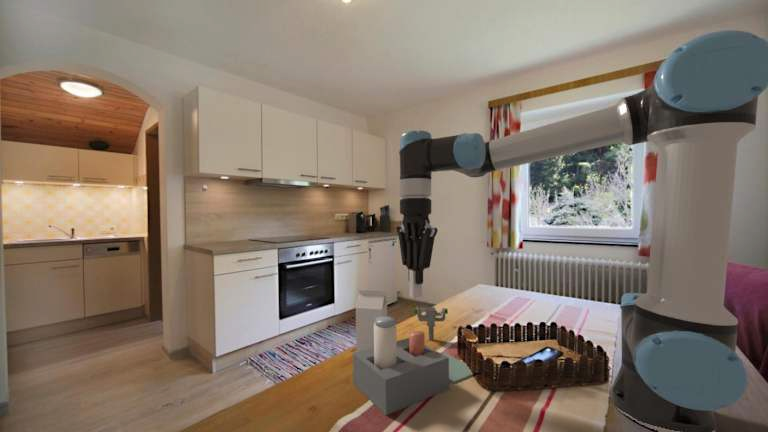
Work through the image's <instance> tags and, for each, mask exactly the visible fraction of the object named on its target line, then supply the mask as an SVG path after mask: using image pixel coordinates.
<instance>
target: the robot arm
mask: <svg viewBox="0 0 768 432" xmlns="http://www.w3.org/2000/svg"><path fill="white" fill-rule="evenodd" d="M767 88H768V41H767V40H766V39H765V38H763V37H760V36H758V35H757V34H753V33H752V32H748V31H743V30H735V29H734V30H733V29H732V30H730V29H729V30H727V29H726V30H725V29H724V30H717V31H713V32H712V31H711V32H708V33H703V34H701V35H700V36H697V37H695V38H692V39H690V40H688V41H686V42H684V43H683V44H681V45H680V46H679V47H677V48H676V49H675V50H674V51H672V52H671V53H669V56H667V57H666V59H664V60H663V62H662V63H660V65H659V67H658V68H657V70H656V73H655V75H654V79H653V81H652V82H651V84H650V85H649V87H646V88H645V89H644V90H641V91H639V92H637V93H634V94H632V95H627V96H625V97H621V98H620V99H619V100H618V101H617V103H615V104H614V105H612V106H608V107H605V108H601V109H598V110H594V111H591V112H587V113H584V114H580V115H577V116H573V117H570V118H567V119H562V120H559V121H555V122H552V123H548V124H545V125H541V126H538V127H534V128H530V129H528V130H524V131H520V132H517V133H514V134H509V135H506V136H503V137H500V138H496V139H492V140H489V141H485V140H484V138H483V135H481V134H480V133H478V132H474V133H473V132H472V133H466V132H465V133H461V134H456V135H450V136H443V137H437V138H432V134H431V133H430V132H428V131H427V130H421V129H420V130H409V131H406V132H404V133H402V134H401V135H400V139H399V140H400V141H399V151H398V153H399V197H401V199H400V200H399V214H400V215H403V217H402V222H401V223H402V224H401V225H399V226H396V227H395V228H396V230H395V231H396V232H397V235H398V240H399V247H400V255H401V261H402V262H401V263H402V265H403V266H406V268H407V270H408V274H407V275H408V283H409V289H408V292H409V293H408V295H409V296H408V297H409V298H411V299H417V298H422V297H423V284H424V270H426V269H429V268H430V267H431V261H432V255H433V249H434V244H435V243H434V242H435V237H436V235H437V233H438V228H437V227H433V226H432V225H431V224H430V223H431V221H430V219H429V218H430V217H429V215H431V214H432V199H431V198H430V197H431V196H432V173H434V172H448V171H454V172H456V173H461V174H463V175H465V176H467V177H470V178H481V177H484V176H486V175H487V174H488V173H492V172H497V171H499V170H504V169H509V168H513V167H514V168H515V167H518V166H522V165H527V164H531V163H535V162H536V163H537V162H539V161H545V160H548V159H552V158H558V157H562V156H567V155H571V154H575V153H579V152H584V151H587V150H589V151H590V150H592V149H597V148H602V147H606V146H611V145H614V144H619V143H620V144H621V143H623V144H625V145H627V146H632V145H637V144H642V143H648V142H650V143H651V144H653V145H655V146H656V148H657V150H658V151H657V162H656V173H655V175H656V176H655V187H654V189H655V190H654V200H653V212H652V213H653V214H652V227H651V239H650V250H649V251H650V252H649V266H648V275H647V276H648V277H647V278H648V279H647V289H646V293H643V292H627V293H624V294H623V295H622V296H621V301H620V305H619V308H620V310H621V312H620V313H621V314H620V315H621V316H620V317H621V318H620V319H621V322H620V323H621V325H620V326H621V365H620V368H619V370H618V372H617V375H616V377H615V379H614V382H613V384H612V387H611V402H613V403H612V404H614V405H615V406H616V407H617V408H619V409H620V410H622V411H623V412H625V413H627V414H629V415H630V416H632V417H633V418H635V419H637V420H638V421H641V422H643V423H647V424H650V425H653V426H657V427H661V428H665V429H669V430H674V431H680V432H681V431H682V432H712V431H714V430H715V429H716V430H717V420H716V415H715V413H714V411H717V410H720V409H724V408H727V407H731V406H733V405H735V404H737V403H738V402H740V400H742V398H743V397H744V395H746V392H747V390H748V386H749V376H748V372H747V369H746V366H745V365H744V362H743V360H742V359H741V357H739V355H738V354H737V353H736V352H737V340H738V339H737V337H738V325H739V320H738V318H737V317H736V316H735V315H733V313H731V312H730V310H728V309H727V308H726V307H725V306H724V303H725V294H726V292H725V291H726V281H727V271H728V270H727V269H728V259H729V258H728V257H729V245H730V235H731V233H730V232H731V222H732V211H733V201H734V191H735V190H734V189H735V188H734V187H735V178H736V177H735V176H736V167H737V156H738V155H737V154H738V143H739V142H740V141H741V140H742V139H743V138H745V137H746V136H748V135H749V134H751V133H752V132H753V131H755V130H756V122H757V112H758V100H759V96H760V95H761V94H762V93H763V92H764V91H765V90H766V89H767ZM614 405H613V406H614ZM615 406H614V407H615ZM616 407H615V408H616ZM617 408H616V409H617Z"/></svg>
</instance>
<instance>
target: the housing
mask: <svg viewBox="0 0 768 432" xmlns="http://www.w3.org/2000/svg"><path fill="white" fill-rule="evenodd" d="M396 344H397V365H395V366H392V367H389V368H386V369H383V370H380V369H379V368H377V367H376V366H375V365H374V348H371V349H367V350H363V351H360V352H353V353H352V380H353V383H352V384H354V386H355V387H356V388H357V389H358V390H359V391H361V393H363V395H364V396H366V398H367V399H368V400H370V401H371V402H372V404H373V405H374V406H375V407H377V408H378V409H379V411H381V412H382V413H383V415H385V416H389V415H391V414H393V413H396V412H399V411H400V410H402V409H405V408H408V407H409V406H411V405H414V404H416V403H420V402H421V401H423V400H426V399H428V398H430V397H432V396H436V395H437V394H440V393H443V392H444V391H447V390H449V389H450V381H449V357H447V356H445V355H443V354H444V353H441V352H439V351H437V350H435V349H434V348H431V347H429V346H428V345H426V344H425V354H423V355H419V356H416V357H415V356H413V355H412V354H410V353H409V337H408V338H402V339H400V340H396Z"/></svg>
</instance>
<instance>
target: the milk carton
mask: <svg viewBox="0 0 768 432" xmlns="http://www.w3.org/2000/svg"><path fill="white" fill-rule="evenodd" d="M358 292H359V293H358V296H357V301H356V305H355V342H356V343H355V351H356V352H360V351H363V350H367V349H371V348H374V323H375V319H376V318H378V317H384V316H387V317H388V300H387V297H386V291H385V290H383V289H382V290H380V289H358ZM356 352H355V353H356Z"/></svg>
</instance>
